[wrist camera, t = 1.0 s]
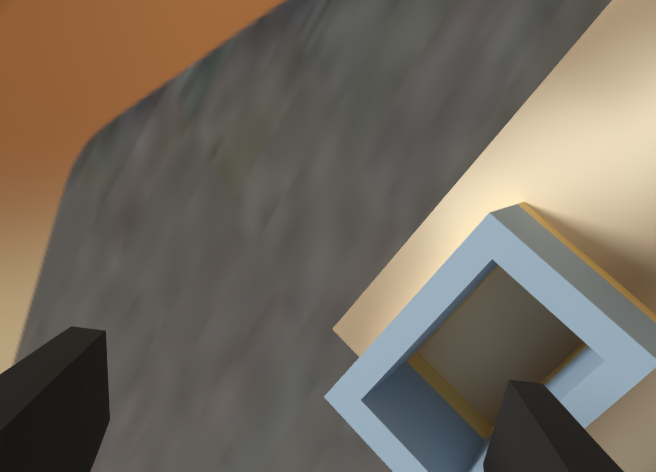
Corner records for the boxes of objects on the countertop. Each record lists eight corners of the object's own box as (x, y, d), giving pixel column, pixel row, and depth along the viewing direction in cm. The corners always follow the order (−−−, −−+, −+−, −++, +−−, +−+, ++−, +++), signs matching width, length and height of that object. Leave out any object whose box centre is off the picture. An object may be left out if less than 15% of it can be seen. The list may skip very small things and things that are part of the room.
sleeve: (656, 314, 18) (660, 363, 14) (494, 459, 21) (455, 539, 16) (524, 201, 20) (489, 212, 15) (387, 350, 22) (324, 396, 18)
